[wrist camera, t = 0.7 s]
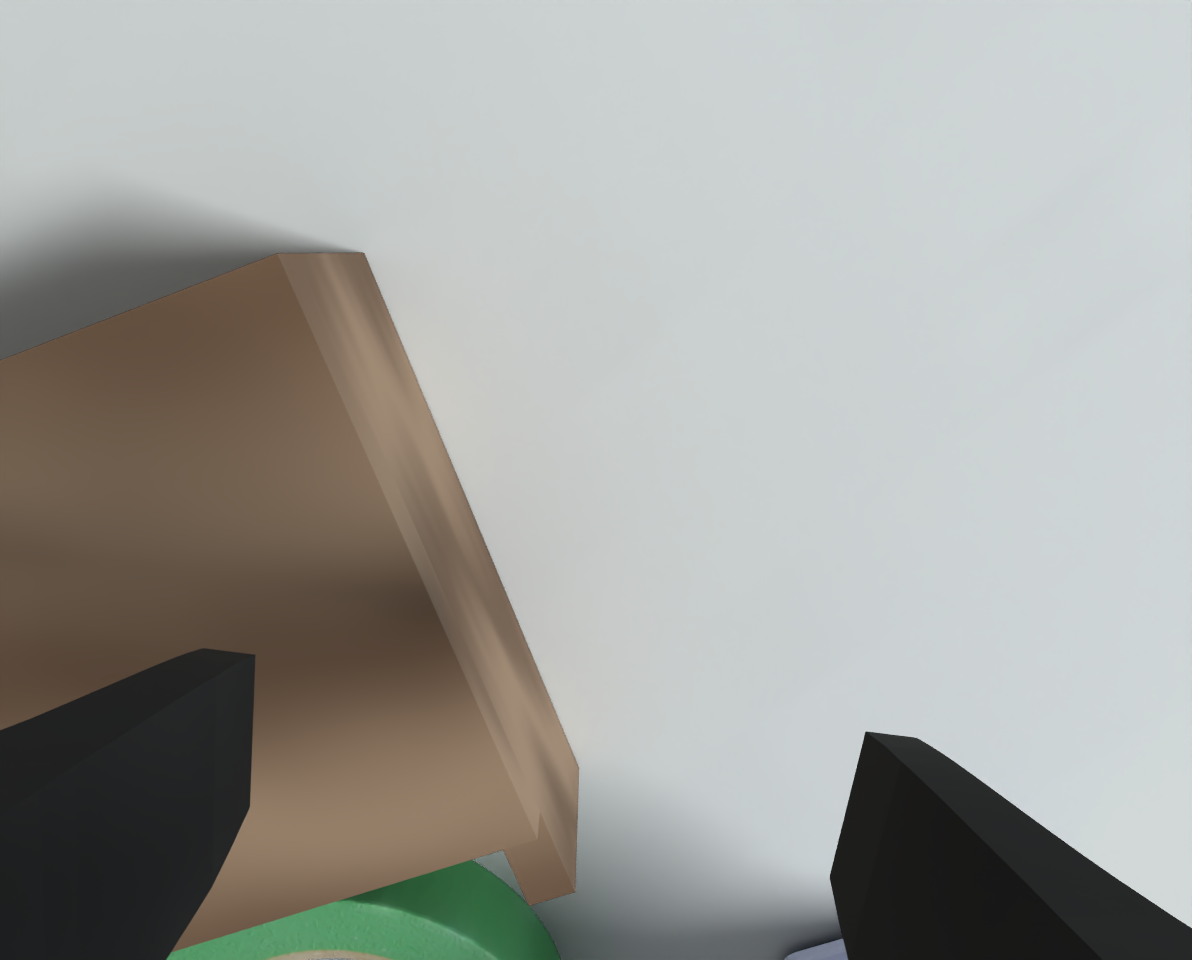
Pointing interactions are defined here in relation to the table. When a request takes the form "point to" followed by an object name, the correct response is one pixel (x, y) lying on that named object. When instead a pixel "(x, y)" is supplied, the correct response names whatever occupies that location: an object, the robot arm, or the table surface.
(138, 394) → the low shelf
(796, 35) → the table surface
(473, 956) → the tape roll
